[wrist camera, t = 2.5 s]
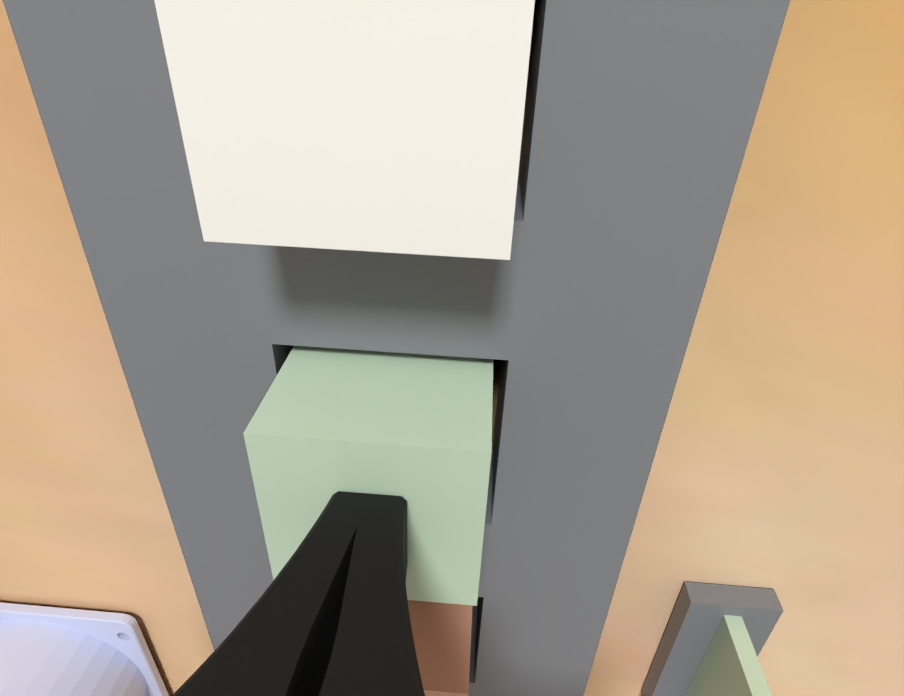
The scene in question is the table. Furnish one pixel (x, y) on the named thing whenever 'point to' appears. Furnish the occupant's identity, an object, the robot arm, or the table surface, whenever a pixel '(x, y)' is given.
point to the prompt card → (714, 642)
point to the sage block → (380, 455)
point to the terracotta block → (442, 646)
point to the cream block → (352, 120)
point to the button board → (429, 296)
